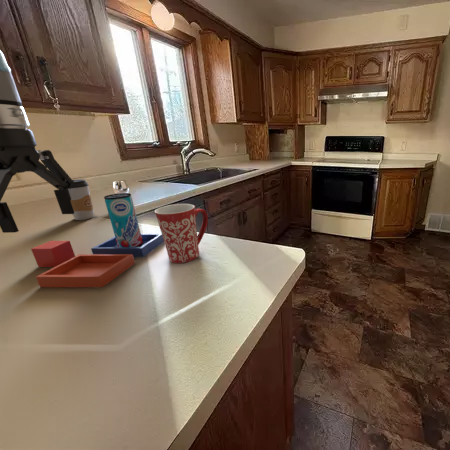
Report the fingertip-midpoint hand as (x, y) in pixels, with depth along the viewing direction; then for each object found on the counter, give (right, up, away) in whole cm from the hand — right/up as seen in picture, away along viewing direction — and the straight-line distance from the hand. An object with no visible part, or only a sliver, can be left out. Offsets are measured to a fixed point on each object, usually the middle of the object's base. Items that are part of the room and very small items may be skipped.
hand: (42, 222), depth 59 cm
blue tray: (+14, -8, +11) cm, 19 cm away
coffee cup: (-25, +2, +40) cm, 47 cm away
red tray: (+14, -12, -2) cm, 19 cm away
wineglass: (-20, +8, +56) cm, 60 cm away
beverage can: (+14, -7, +11) cm, 19 cm away
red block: (0, -10, +4) cm, 11 cm away
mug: (+33, -9, +7) cm, 35 cm away
